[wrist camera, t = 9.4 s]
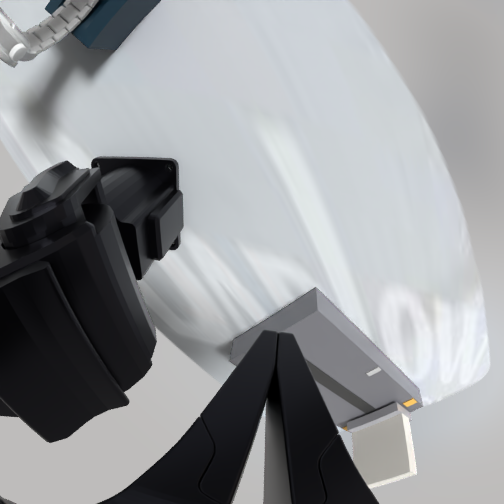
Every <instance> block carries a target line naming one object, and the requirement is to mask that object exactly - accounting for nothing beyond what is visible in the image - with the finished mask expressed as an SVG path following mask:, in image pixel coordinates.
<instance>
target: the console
mask: <svg viewBox="0 0 504 504" xmlns="http://www.w3.org/2000/svg"><path fill="white" fill-rule="evenodd" d="M264 329H268V330H275V331H277V332H278V333H279V332H280V331H282V332H289V333H293V334H294V336H295V338H296V340H297V342H298V344H299V347H300V349H301V351H302V353H303V355H304V357H305V360H306V362H307V364H308V366H309V368H310V371H311V373H312V375H313V377H314V379H315V381H316V384H317V386H318V388H319V390H320V392H321V394H322V397H323V399H324V401H325V403H326V405H327V408H328V410H329V412H330V414H331V416H332V418H333V421H334V423H335V425H337V426H339V427H341V428H342V429H344V430H346V431H347V423H348V422H350V421H353V420H355V419H358V418H360V417H363V416H365V415H368V414H370V413H373V412H375V411H377V410H380V409H382V408H384V407H387V406H389V405H391V404H393V403H395V402H397V403H398V404H400V405H401V406H402V407H403V408H405V409H406V410H407V411H409V412H412V411H414V410H416V409H418V408H421V407H423V404H422V399H421V395H420V391H419V388H418V387H417V386H416V385H415V384H414V383H413V382H412V381H411V380H410V379H409V378H408V377H407V376H406V375H405V374H404V373H403V372H402V371H401V370H400V369H399V368H398V367H397V366H396V365H395V364H394V363H393V362H392V361H391V360H390V359H389V358H388V357H387V356H386V355H385V354H384V353H383V352H382V351H381V350H380V349H379V348H378V347H377V346H376V345H375V344H374V343H373V342H372V341H371V340H370V339H369V338H368V337H367V336H366V335H365V334H364V333H363V332H362V331H361V330H360V329H359V328H358V327H357V326H356V325H355V324H354V323H353V322H351V321H350V320H349V319H348V318H347V317H346V316H345V315H344V314H343V313H342V312H341V311H340V310H339V309H338V308H337V307H336V306H335V305H334V304H333V303H332V302H331V301H330V300H329V299H328V298H327V297H326V296H325V295H324V294H323V293H322V292H321V291H320V290H319V289H317V288H314V289H313V290H311V291H310V292H308V293H307V294H305V295H304V296H302V297H300V298H299V299H297V300H296V301H294V302H293V303H291V304H290V305H288V306H287V307H285V308H284V309H282V310H280V311H279V312H277V313H276V314H274V315H273V316H271V317H269V318H268V319H266V320H265V321H263V322H261V323H260V324H258V325H257V326H255V327H253V328H252V329H250V330H248V331H247V332H245V333H243V334H242V335H240V336H239V337H237V338H235V339H234V341H233V346H232V350H231V355H230V359H229V361H230V362H231V363H233V364H234V365H236V366H237V365H238V364H239V362H240V361H241V360H242V358H243V357H244V355H245V354H246V353H247V351H248V350H249V348H250V347H251V346H252V344H253V343H254V341H255V340H256V339H257V337H258V336H259V334H260V333H261V332H262V330H264ZM348 432H349V431H348Z"/></svg>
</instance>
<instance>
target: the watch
mask: <svg viewBox="0 0 504 504" xmlns="http://www.w3.org/2000/svg"><path fill="white" fill-rule="evenodd" d="M160 1H161V0H50V2H49V3H48V5H47V6H46V8H45V10H46V11H48V12H49V13H50V14H51V15H52V17H51V16H49V17H48V18H46V19H45V20H43V21H42V22H40V24H39V25H36V26H34V27H32V28H30V29H28V30H27V31H26V32H22V31H21V30H20V29H19V28H18V27H17V25H16V24H15V23H14V22H13V21H12V20H11V19H10V18H9V17H8V15H7V14H6V13H5V12H4V11H3V10H2V9H1V8H0V59H1V60H2V61H4V62H5V63H7V64H8V65H10V66H11V67H15V66H16V65H17V64H18V63H17V62H18V61H29V60H33V59H34V58H35V57H36V56H37V55H38V54H39V53H41V52H42V51H45V50H47V49H49V48H50V47H52V46H53V45H54V44H55V42H56V43H58V42H59V41H60V40H62V39H63V38H64V37H65V36H67V35H68V34H69V32H71V33H72V34H73V35H74V36H75V37H76V38H77V39H79V40H80V41H81V42H82V43H83V44H84V45H85V46H86V47H87V48H89V49H110V50H116V49H117V48H118V47H119V46H120V45H121V43H122V42H123V41H124V40H125V39H126V37H127V36H128V35H129V34H130V33H131V32H132V30H133V29H134V28H135V27H136V26H137V25H138V24H139V23H140V22H141V20H142V19H143V18H144V17H145V16H146V15H147V14H148V13H149V12H150V11H151V10H152V9H153V8H154V7H155V6H156V5H157V4H158V3H159V2H160ZM48 27H49V28H50V29H51V30H52V31H51V30H50V29H49V28H48Z"/></svg>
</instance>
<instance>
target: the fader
mask: <svg viewBox="0 0 504 504" xmlns="http://www.w3.org/2000/svg"><path fill="white" fill-rule="evenodd" d="M411 420H412V419H411V414H410V412H409V411H407V410H406V409H405V408H403V407H402V406H401V405H400V404H398V403H397V402H395V403H393V404H391V405H389V406H387V407H384V408H382V409H380V410H377V411H375V412H373V413H370V414H368V415H365V416H363V417H360V418H358V419H355V420H353V421H350V422H348V423H347V431H349V432H351V433H352V442H353V462H354V464H355V466H356V468H357V469H358V471H359V473H360V474H361V476H362V478H363V479H364V481H365V482H366V484H367V485H368V487H369V489H370V488H374V487H378V486H381V485H385V484H388V483H392V482H395V481H398V480H401V479H404V478H407V477H410V476H413V475H416V474H417V470H416V462H415V455H414V448H413V441H412V435H411V429H410V423H409V421H411Z"/></svg>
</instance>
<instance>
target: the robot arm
mask: <svg viewBox="0 0 504 504" xmlns="http://www.w3.org/2000/svg"><path fill="white" fill-rule="evenodd" d="M97 162H98V163H99V164H100V167H99V166H98V165H97ZM168 164H171V165H172V167H173V169H172V170H170V169H169V168H168V166H167V165H168ZM91 167H92V169H89V168H86V169H79V168H76V167H75V166H73V165H72V164H71V163H70V162H69V161H64V162H60V163H58V164H56V165H54V166H52V167H50V168H48V169H46V170H45V171H43V172H41V173H40V174H38V175H37V176H36V177H34V179H33V180H32V181H31V182H30V183H29V184H28V185H26V186H25V187H24V188H23V190H22V191H21V192H19V193H17V194H16V195H14V196H12V197H11V198H9V200H8V202H7V204H6V206H5V208H4V210H3V212H2V215H1V217H0V416H9V417H19V418H20V419H22V420H23V421H24V422H25V423H26V424H27V425H28V426H29V427H30V428H31V429H33V430H34V431H35V432H36V433H37V434H38V435H40V436H41V437H42V438H43V439H44V440H45V441H47V442H49V443H52V442H55V441H59V440H62V439H65V438H68V437H69V436H70V435H72V434H73V433H74V432H75V431H76V430H78V429H79V428H80V427H81V426H83V425H84V424H85V423H86V422H88V421H89V420H90V419H92V418H93V417H95V416H97V415H99V414H101V413H103V412H105V411H107V410H111V409H114V408H119V407H123V406H127V405H128V404H129V399H128V398H127V396H126V395H125V393H124V392H125V391H127V390H128V389H130V388H131V387H132V386H133V385H135V384H136V383H137V382H138V381H139V380H140V379H141V378H143V377H144V376H145V374H146V373H147V371H148V370H149V369H150V368H151V366H152V361H151V358H152V355H153V352H154V349H155V345H156V342H157V341H156V330H155V326H154V324H153V322H152V319H151V317H150V314H149V312H148V309H147V307H146V304H145V302H144V299H143V297H142V294H141V292H140V289H139V286H138V284H137V281H136V280H141V279H142V278H143V276H144V275H145V273H146V272H147V270H148V269H149V267H150V266H151V264H152V263H153V261H154V260H159V261H160V260H161V259H162V258H163V257H164V256H165V254H166V253H167V251H168V250H176V249H177V248H178V247H179V245H180V231H181V230H182V229H183V194H182V192H181V191H180V190H179V166H178V163H177V161H176V160H174V159H172V158H151V157H97V158H95V159H93V160H92V162H91ZM173 242H175V244H173ZM265 403H266V427H265V468H264V469H265V470H264V502H263V504H379V502H378V501H377V499H376V498H375V496H374V495H373V493H372V492H371V490H370V489H369V487H368V485H367V484H366V482H365V481H364V479H363V478H362V476H361V474H360V473H359V471H358V469H357V468H356V466H355V464H354V462H353V461H352V459H351V457H350V455H349V453H348V451H347V449H346V447H345V444H344V442H343V440H342V438H341V436H340V435H339V434H338V433H339V432H338V429H337V427H336V425H335V423H334V421H333V418H332V416H331V414H330V412H329V410H328V408H327V405H326V403H325V401H324V399H323V397H322V394H321V392H320V390H319V388H318V386H317V384H316V381H315V379H314V377H313V375H312V373H311V371H310V368H309V366H308V364H307V362H306V360H305V357H304V355H303V353H302V351H301V349H300V347H299V344H298V342H297V340H296V338H295V336H294V334H293V333H289V332H282V331H280V332H279V333H278V332H277V331H275V330H268V329H264V330H262V332H261V333H260V334H259V336H258V337H257V339H256V340H255V341H254V343H253V344H252V346H251V347H250V348H249V350H248V351H247V353H246V354H245V355H244V357H243V358H242V360H241V361H240V362H239V364H238V365H237V367H236V368H235V369H234V371H233V372H232V373H231V375H230V376H229V377H228V379H227V380H226V381H225V383H224V384H223V386H222V387H221V388H220V390H219V391H218V392H217V394H216V395H215V396H214V398H213V399H212V400H211V402H210V403H209V404H208V405H207V407H206V408H205V409H204V411H203V412H202V413H201V415H200V417H198V418H197V419H196V421H195V422H194V423H193V425H192V426H191V427H190V428H189V429H188V431H187V432H186V433H185V434H184V435H183V436H182V438H181V439H180V440H179V441H178V442H177V443H176V444H175V445H174V446H173V447H172V448H171V449H170V450H169V451H168V452H167V453H166V454H165V455H164V456H163V457H162V458H161V459H160V460H158V461H157V462H156V463H155V464H154V465H153V466H152V467H150V469H148V470H147V471H146V472H145V473H144V474H143V475H141V476H140V477H139V478H138V479H137V480H135V481H134V482H133V483H132V484H131V485H129V486H128V487H127V488H125V489H124V490H123V491H121V492H120V493H118V494H116V495H115V496H113V497H111V498H109V499H107V500H104V501H102V502H100V503H97V504H232V503H233V501H234V498H235V495H236V492H237V489H238V487H239V484H240V481H241V478H242V475H243V472H244V469H245V466H246V463H247V460H248V457H249V454H250V451H251V448H252V445H253V442H254V439H255V436H256V433H257V429H258V426H259V423H260V419H261V417H262V413H263V410H264V407H265ZM0 504H16V503H14V502H12V501H9V500H7V499H4V498H2V497H1V496H0Z"/></svg>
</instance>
